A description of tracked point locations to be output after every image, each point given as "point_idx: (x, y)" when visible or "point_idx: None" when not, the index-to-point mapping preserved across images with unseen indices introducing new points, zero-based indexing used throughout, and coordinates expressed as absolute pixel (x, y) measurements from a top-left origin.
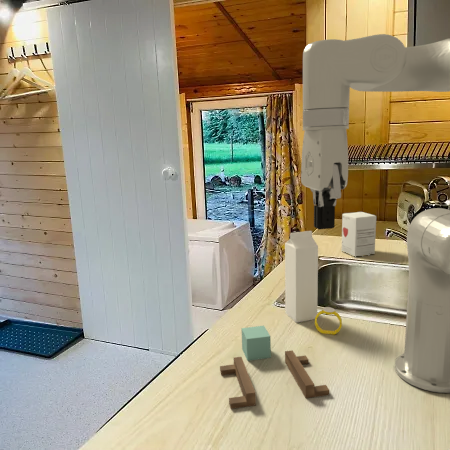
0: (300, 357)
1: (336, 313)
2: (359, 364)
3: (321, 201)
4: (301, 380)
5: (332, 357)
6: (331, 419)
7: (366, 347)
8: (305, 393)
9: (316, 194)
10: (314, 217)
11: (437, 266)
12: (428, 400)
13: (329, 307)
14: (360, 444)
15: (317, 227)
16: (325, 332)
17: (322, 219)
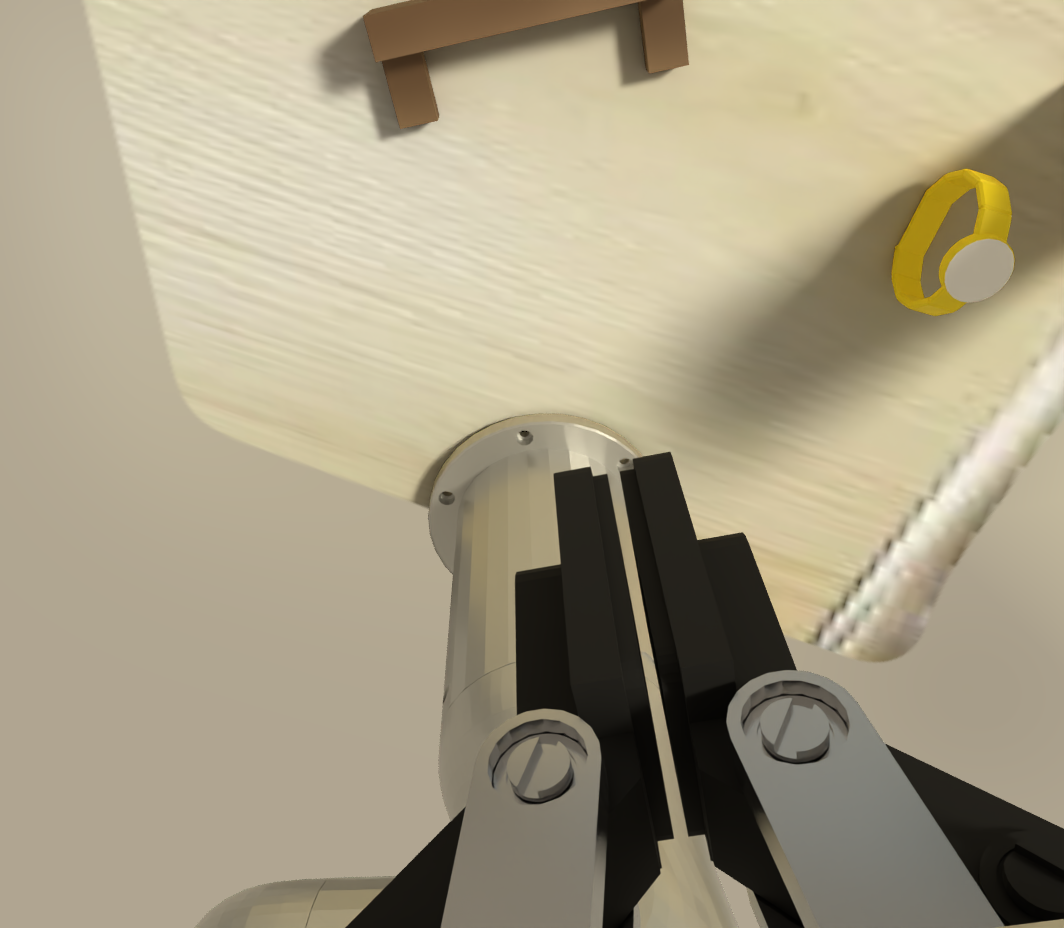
0: (671, 32)
1: (948, 302)
2: (623, 298)
3: (468, 821)
4: (419, 2)
5: (691, 198)
6: (247, 99)
7: (751, 360)
8: (371, 11)
9: (794, 876)
10: (669, 530)
11: (351, 883)
12: (394, 453)
13: (1005, 280)
14: (130, 176)
15: (554, 480)
16: (921, 212)
17: (538, 600)
